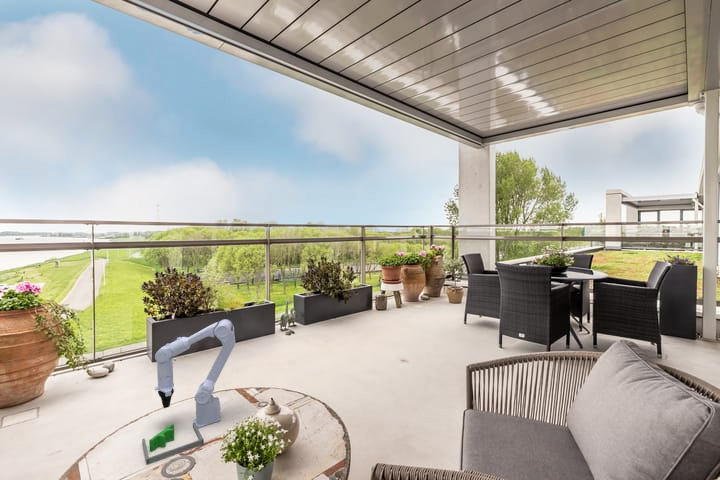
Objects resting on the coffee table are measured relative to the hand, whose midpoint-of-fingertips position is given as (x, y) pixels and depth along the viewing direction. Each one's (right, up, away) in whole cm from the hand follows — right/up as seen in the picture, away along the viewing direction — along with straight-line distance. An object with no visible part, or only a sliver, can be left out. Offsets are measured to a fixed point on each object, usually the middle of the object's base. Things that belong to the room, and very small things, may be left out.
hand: (166, 407), depth 144 cm
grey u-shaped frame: (+9, -8, -12) cm, 17 cm away
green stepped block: (+6, -9, -12) cm, 16 cm away
